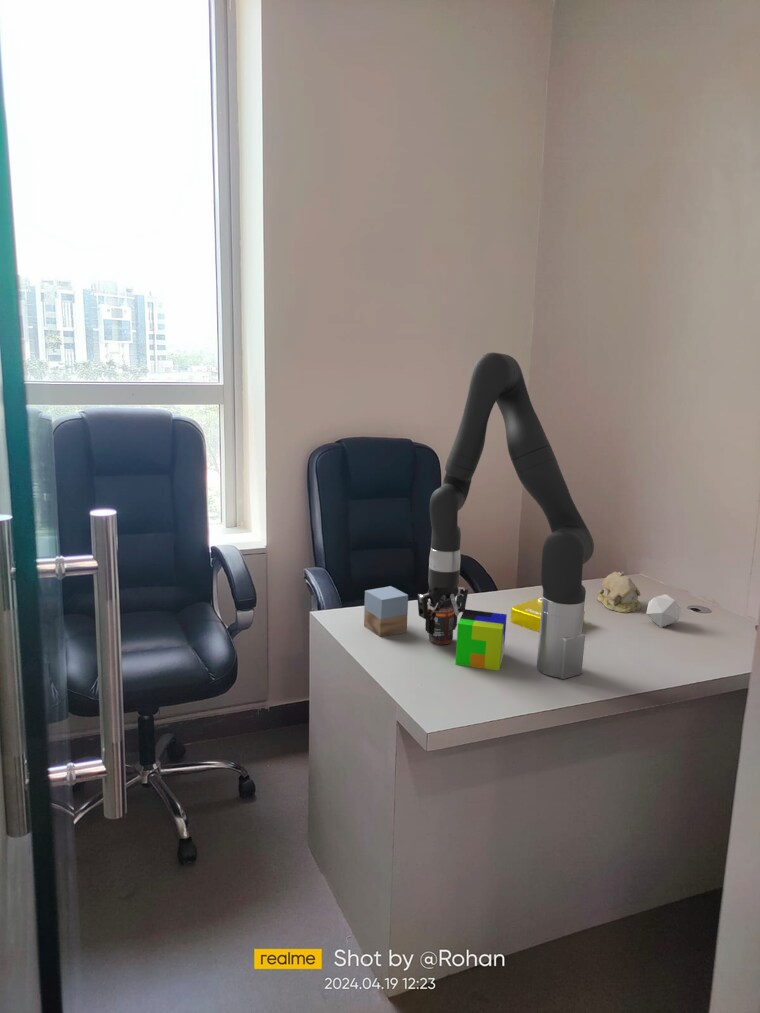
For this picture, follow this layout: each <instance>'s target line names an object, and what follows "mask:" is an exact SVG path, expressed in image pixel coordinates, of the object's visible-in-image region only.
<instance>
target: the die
mask: <svg viewBox="0 0 760 1013" xmlns="http://www.w3.org/2000/svg"><path fill="white" fill-rule="evenodd" d="M647 604H648V605H647V609H646V613H645V614H646V615H647V617H649V619H651V621H652V620H653V622H654V623H655V624H656V625H657V626H658V625H659V626H658V627H659V628H663V626H664V627H667V625H668V626H670V624H671V625H673V624H674V623H677V621H679V619H680V615H681V608H682V607H681V606H680V605H679V604H678V603H677V600H675V599H673V598H672V597H671V596H669V595H668V594H667V593H666V594H665V593H664V594H662V595H657V596H655V597H653V598H652V599H651V600H649V601H648V603H647Z"/></svg>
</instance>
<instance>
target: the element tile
mask: <svg viewBox="0 0 760 1013" xmlns="http://www.w3.org/2000/svg"><path fill="white" fill-rule="evenodd" d="M542 598H543V596H538V597H535V598H531V599H529V600H527V601H524V602H521V603H517V604H516V605H513V606H511V611H510V623H511V624H514V625H516V626H520V627H523V628H526V629H528V630H531V631H534V632H536V633H537V632H538V633H539V634H540V622H541V610H542ZM585 612H586V611H585V610H584V615H583V625H584V623H585V622H584V621H585Z"/></svg>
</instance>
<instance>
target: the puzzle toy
mask: <svg viewBox="0 0 760 1013" xmlns="http://www.w3.org/2000/svg"><path fill="white" fill-rule="evenodd" d="M506 628H507V613H498V612H491V611H482V610H473V609H468V608H467V609H466V608H465V610H464V612H462V614H461V617H460V618H459V621H457V631H456V647H455V649H456V650H455V665H458V666H464V667H473V668H479V669H487V670H494V671H500V668H501V665H502V660H503V657H504V655H505V645H506V644H505V641H506V631H507V630H506Z"/></svg>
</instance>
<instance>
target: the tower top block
mask: <svg viewBox="0 0 760 1013" xmlns="http://www.w3.org/2000/svg"><path fill="white" fill-rule="evenodd" d="M363 605H364V606H363V608H364V609H365V610H367V611H368V612H370V613H372V614H373V615H375V616H377V617H378V618H380V619H384V618H389V617H394V616H399V615H404V614H407V615H408V611H409V610H408V608H409V595H408V594H407V593H405V592H404V591H401V590H399V589H398V588H396V587H393V586H392V585H389V586H385V587H378V588H372V589H367V590H364V604H363ZM364 609H363V610H364Z"/></svg>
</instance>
